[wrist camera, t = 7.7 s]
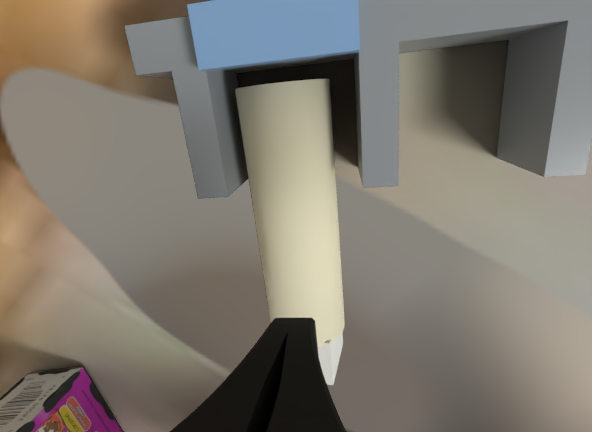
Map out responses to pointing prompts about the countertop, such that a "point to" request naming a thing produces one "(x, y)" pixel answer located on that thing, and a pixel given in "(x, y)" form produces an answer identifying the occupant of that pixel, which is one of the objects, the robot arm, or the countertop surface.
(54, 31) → the countertop surface
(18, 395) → the candy bar box
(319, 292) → the cream cylinder column
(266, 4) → the grey comb rack
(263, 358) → the robot arm
